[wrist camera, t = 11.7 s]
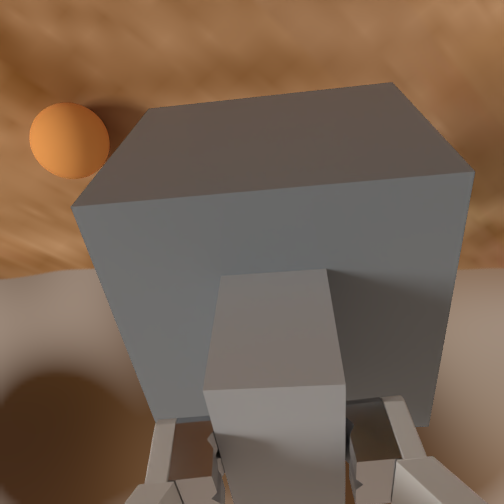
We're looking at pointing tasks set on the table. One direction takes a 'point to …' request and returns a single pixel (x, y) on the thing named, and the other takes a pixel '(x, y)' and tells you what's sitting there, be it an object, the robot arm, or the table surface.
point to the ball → (69, 140)
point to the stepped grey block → (281, 271)
